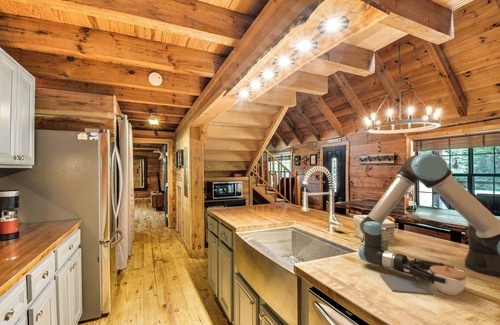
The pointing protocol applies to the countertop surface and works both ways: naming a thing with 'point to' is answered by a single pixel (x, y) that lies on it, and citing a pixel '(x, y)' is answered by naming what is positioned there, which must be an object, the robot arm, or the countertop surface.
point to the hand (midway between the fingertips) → (460, 279)
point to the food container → (385, 243)
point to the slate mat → (405, 284)
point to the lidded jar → (451, 274)
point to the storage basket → (385, 226)
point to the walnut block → (448, 265)
